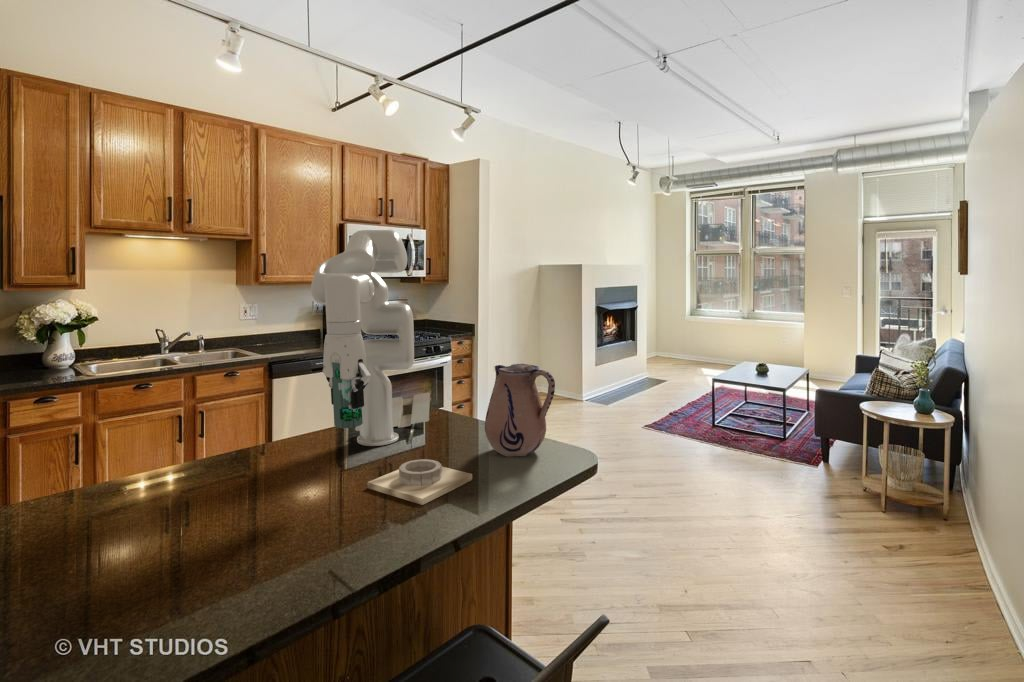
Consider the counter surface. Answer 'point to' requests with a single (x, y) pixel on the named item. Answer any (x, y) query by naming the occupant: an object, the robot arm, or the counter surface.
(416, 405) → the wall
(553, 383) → the ceramic pitcher
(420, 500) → the socket board
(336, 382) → the can
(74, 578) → the counter surface
